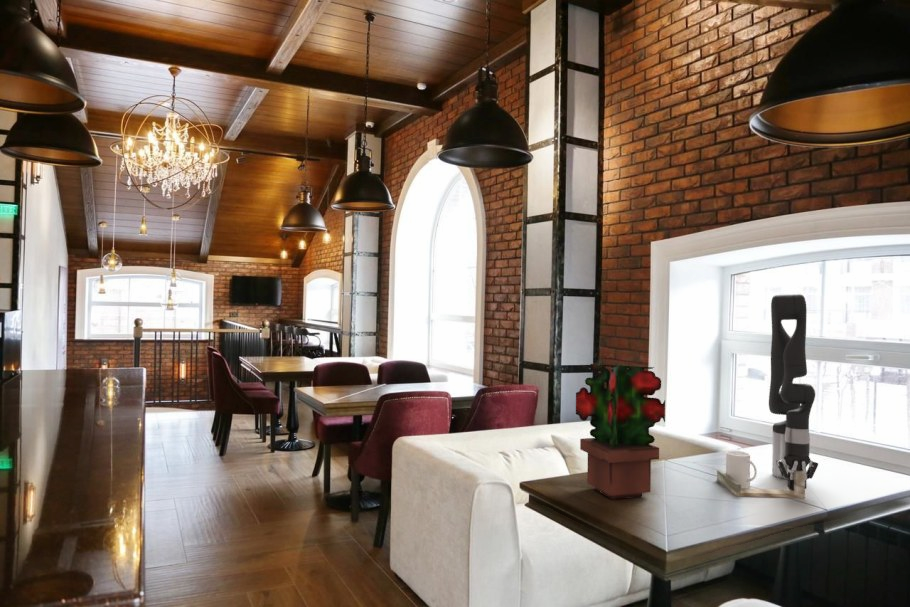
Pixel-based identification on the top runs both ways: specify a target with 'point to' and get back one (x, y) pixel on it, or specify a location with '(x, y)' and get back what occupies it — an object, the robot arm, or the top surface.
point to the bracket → (736, 489)
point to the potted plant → (620, 428)
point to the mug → (739, 467)
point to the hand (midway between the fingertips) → (796, 489)
